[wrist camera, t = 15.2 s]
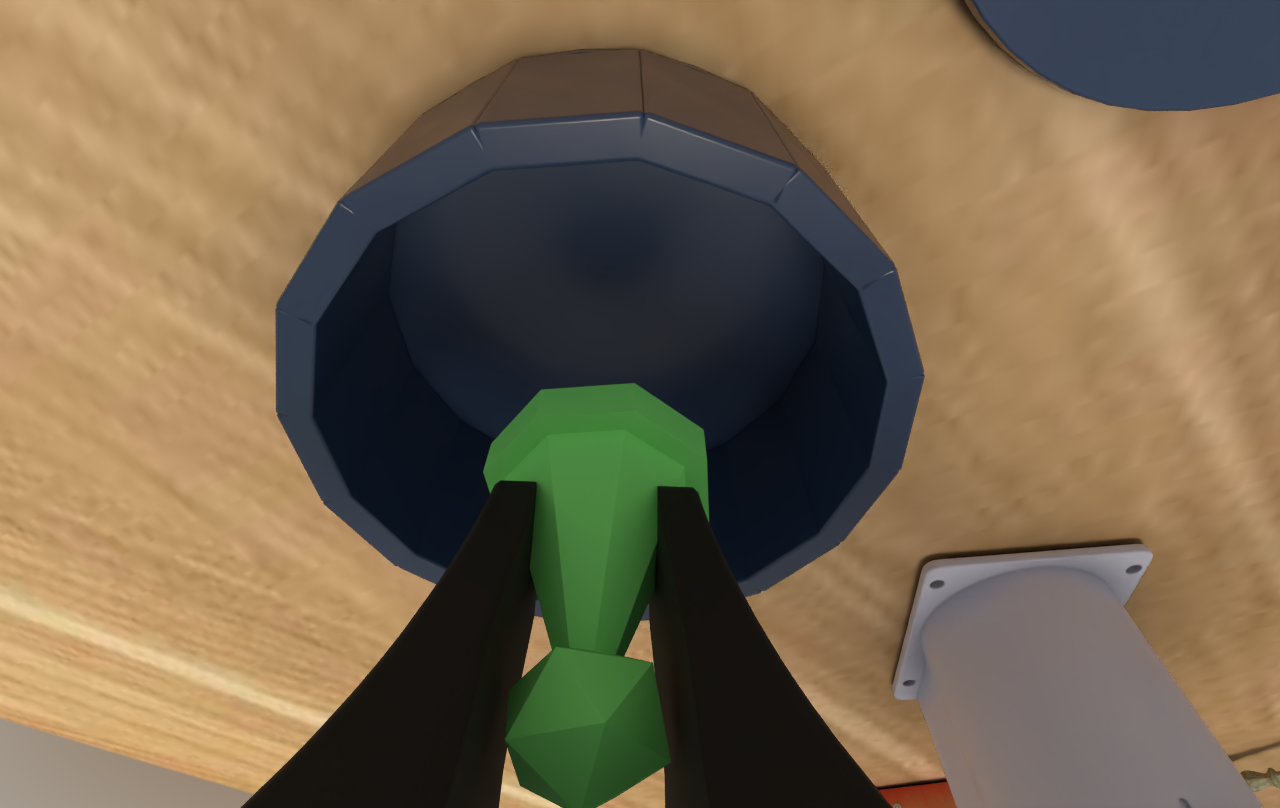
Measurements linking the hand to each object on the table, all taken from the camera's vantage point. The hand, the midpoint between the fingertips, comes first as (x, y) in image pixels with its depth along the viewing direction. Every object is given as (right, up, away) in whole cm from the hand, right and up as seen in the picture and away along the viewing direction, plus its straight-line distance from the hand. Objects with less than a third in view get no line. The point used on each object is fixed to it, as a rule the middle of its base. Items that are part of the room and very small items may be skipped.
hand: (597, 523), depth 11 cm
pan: (0, +5, +6) cm, 8 cm away
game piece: (0, +1, +1) cm, 2 cm away
